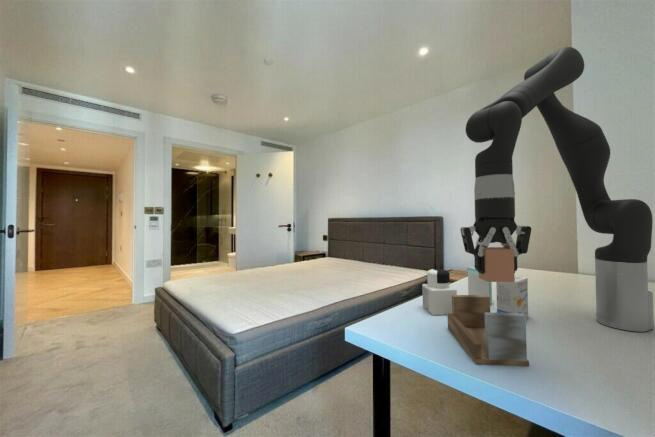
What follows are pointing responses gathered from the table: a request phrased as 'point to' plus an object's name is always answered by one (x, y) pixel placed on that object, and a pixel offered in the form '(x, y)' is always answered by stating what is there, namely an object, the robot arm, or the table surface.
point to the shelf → (488, 331)
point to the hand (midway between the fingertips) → (495, 272)
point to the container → (438, 292)
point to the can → (478, 284)
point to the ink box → (513, 296)
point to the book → (498, 265)
